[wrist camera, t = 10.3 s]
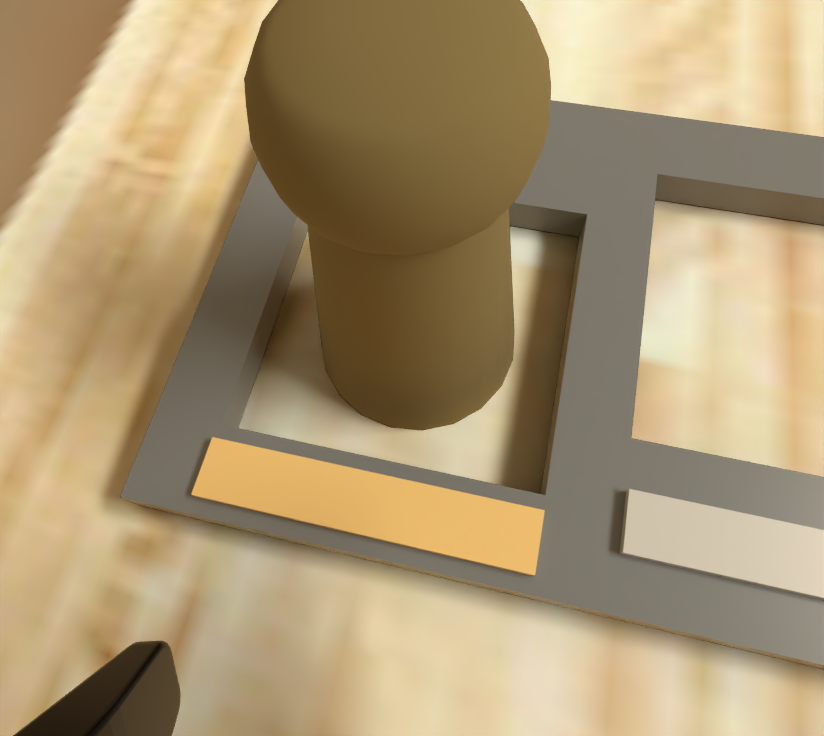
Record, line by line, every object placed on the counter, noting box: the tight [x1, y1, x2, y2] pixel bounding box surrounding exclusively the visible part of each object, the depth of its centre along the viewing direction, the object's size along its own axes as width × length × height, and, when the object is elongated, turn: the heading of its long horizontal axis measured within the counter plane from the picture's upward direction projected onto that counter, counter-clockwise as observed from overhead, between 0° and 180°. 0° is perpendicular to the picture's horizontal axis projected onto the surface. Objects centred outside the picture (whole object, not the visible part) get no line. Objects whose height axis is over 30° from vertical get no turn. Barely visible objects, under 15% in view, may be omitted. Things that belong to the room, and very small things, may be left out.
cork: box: [244, 0, 551, 430], centre depth 14 cm, size 6×6×11 cm
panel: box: [120, 100, 824, 669], centre depth 18 cm, size 16×24×2 cm, turn 77°
